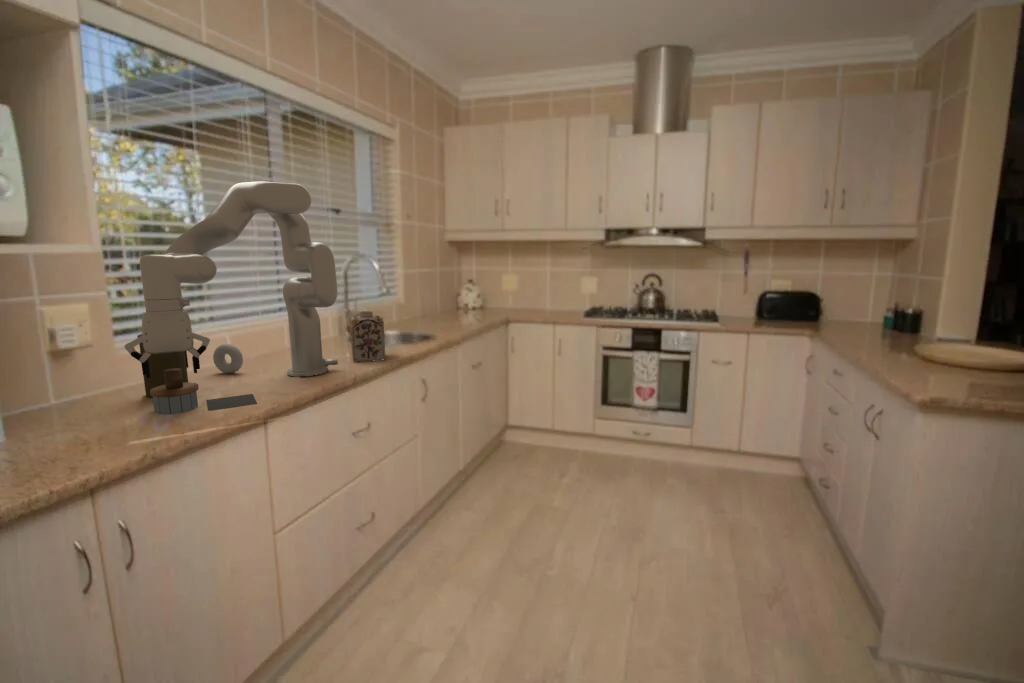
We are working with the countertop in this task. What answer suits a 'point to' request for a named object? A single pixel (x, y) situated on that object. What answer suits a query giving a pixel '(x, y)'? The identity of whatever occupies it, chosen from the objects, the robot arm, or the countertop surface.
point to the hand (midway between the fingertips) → (172, 374)
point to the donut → (221, 362)
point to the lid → (173, 385)
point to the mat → (230, 402)
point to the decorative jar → (367, 337)
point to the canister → (163, 367)
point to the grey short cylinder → (175, 403)
